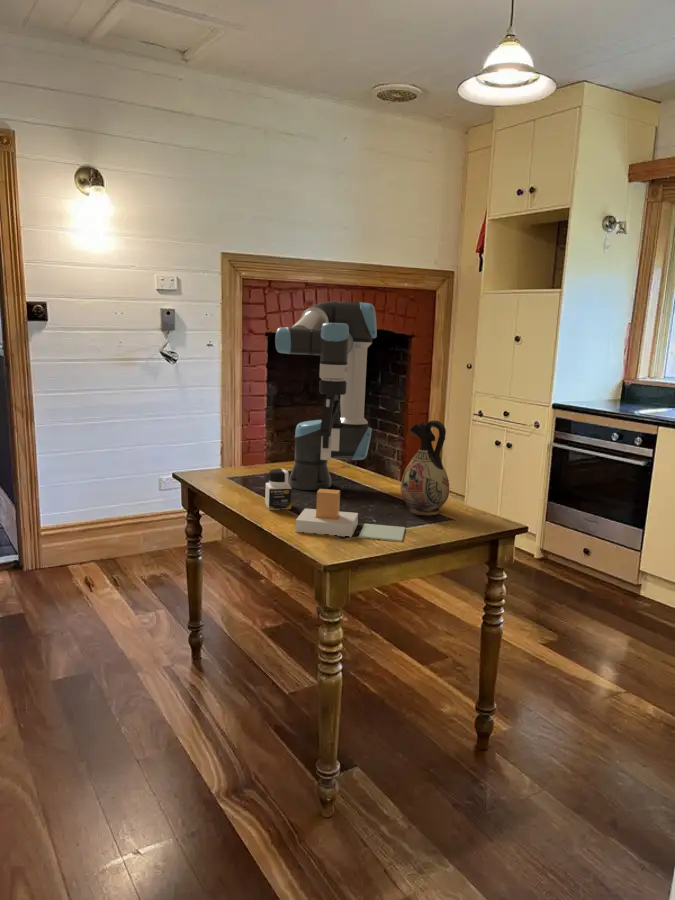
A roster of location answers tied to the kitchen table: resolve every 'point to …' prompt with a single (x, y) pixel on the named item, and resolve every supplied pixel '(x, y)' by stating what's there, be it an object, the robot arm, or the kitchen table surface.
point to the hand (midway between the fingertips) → (330, 455)
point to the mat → (382, 532)
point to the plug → (328, 504)
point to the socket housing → (327, 523)
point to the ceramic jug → (426, 473)
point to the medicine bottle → (278, 490)
